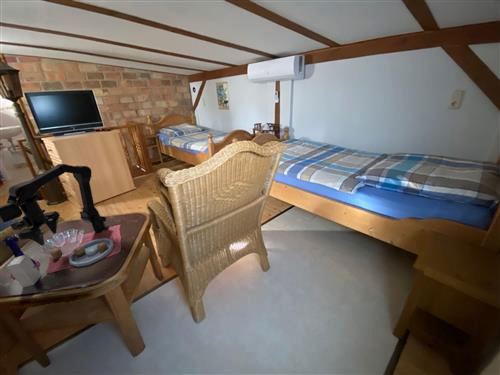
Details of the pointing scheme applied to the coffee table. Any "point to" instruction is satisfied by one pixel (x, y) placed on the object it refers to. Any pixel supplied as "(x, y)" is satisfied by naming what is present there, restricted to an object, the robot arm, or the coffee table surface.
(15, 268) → the skincare box
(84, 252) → the bead
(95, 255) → the groove tray
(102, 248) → the wooden rounded peg
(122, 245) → the coffee table surface
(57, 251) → the bead
